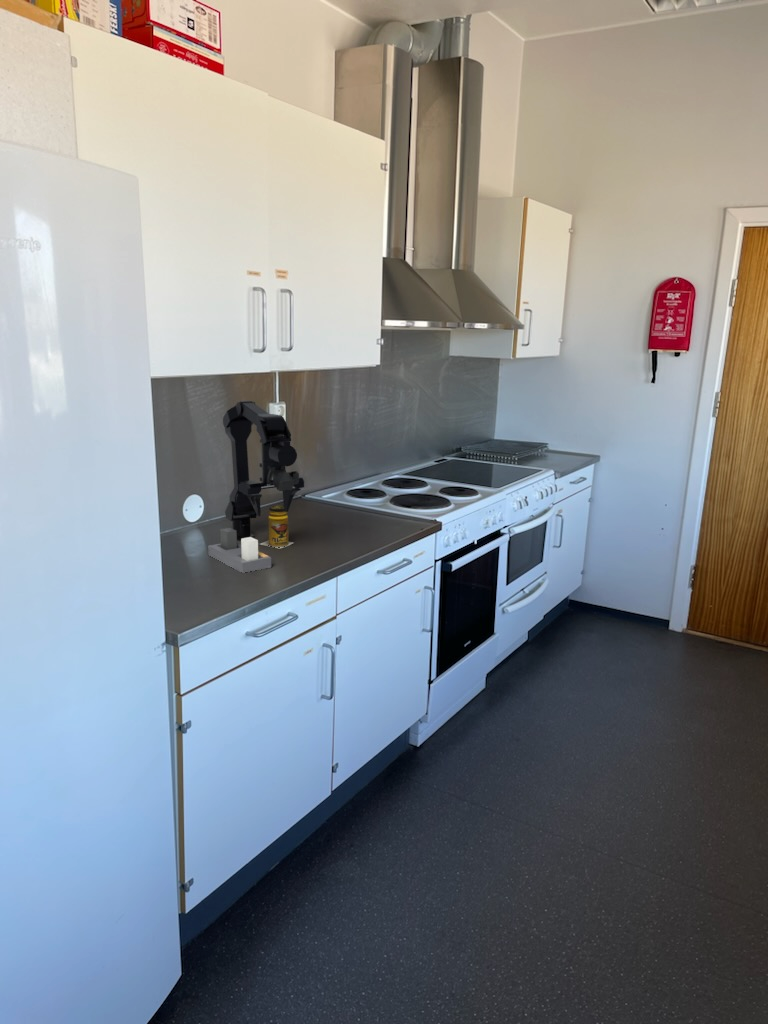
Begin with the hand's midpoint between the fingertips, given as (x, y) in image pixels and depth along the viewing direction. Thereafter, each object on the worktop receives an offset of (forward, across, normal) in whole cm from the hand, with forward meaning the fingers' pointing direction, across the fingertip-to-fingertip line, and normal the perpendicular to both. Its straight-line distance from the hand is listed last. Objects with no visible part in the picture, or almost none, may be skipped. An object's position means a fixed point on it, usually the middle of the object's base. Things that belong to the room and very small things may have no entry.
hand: (272, 513), depth 213 cm
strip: (+13, -10, +2) cm, 17 cm away
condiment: (+13, +8, +11) cm, 19 cm away
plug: (+13, -10, -4) cm, 17 cm away
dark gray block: (+13, -10, +8) cm, 18 cm away
